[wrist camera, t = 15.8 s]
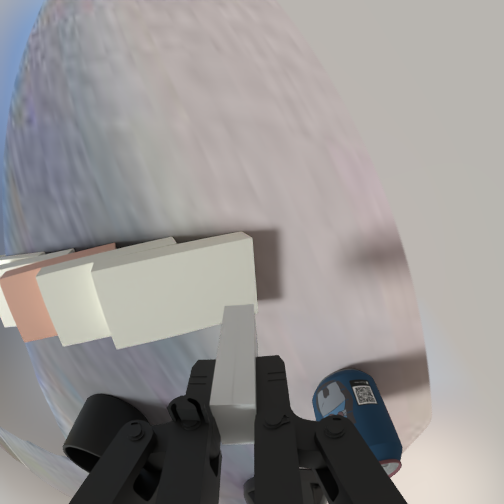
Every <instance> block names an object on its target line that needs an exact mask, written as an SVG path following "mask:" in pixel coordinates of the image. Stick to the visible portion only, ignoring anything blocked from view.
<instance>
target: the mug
mask: <svg viewBox="0 0 504 504" xmlns="http://www.w3.org/2000/svg"><path fill="white" fill-rule="evenodd" d="M132 420H143V421H145V422H147V423H148V421H147V419H146V418H145V417H144V416H143V415H142V414H141V413H140V412H139V411H138V410H137V409H135V408H134V407H132V406H131V405H129V404H128V403H126V402H124V401H122V400H120V399H117V398H115V397H112V396H108V395H102V394H96V395H92V396H90V397H89V398H87V400H86V402H85V404H84V406H83V408H82V409H81V411H80V413H79V415H78V417H77V419H76V421H75V423H74V425H73V427H72V429H71V431H70V433H69V435H68V437H67V439H66V441H65V443H64V445H63V451H64V453H65V454H66V455H67V457H68V458H69V459H70V460H71V461H73V462H74V463H75V464H76V465H78V466H79V467H81V468H82V469H84V470H85V471H87V472H89V473H90V472H91V471H92V469H93V468H94V466H95V465H96V463H97V462H98V461H99V459H100V458H101V456H102V455H103V453H104V452H105V451H106V449H107V448H108V446H109V445H110V443H111V442H112V441H113V439H114V438H115V436H116V435H117V433H118V432H119V430H120V429H121V428H122V427H123V426H124V425H125V424H126V423H128V422H130V421H132Z"/></svg>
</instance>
